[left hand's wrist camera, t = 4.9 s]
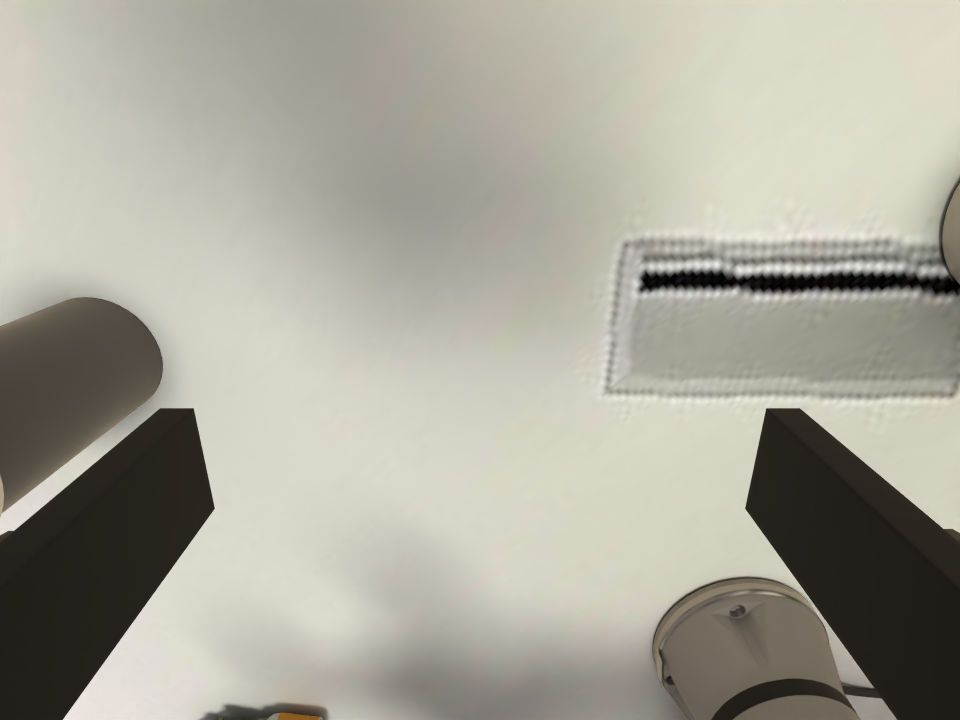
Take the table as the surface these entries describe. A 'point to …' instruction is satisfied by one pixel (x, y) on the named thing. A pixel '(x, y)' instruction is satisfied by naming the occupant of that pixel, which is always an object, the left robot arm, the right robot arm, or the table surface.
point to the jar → (68, 385)
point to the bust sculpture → (952, 235)
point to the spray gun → (289, 717)
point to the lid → (1, 496)
